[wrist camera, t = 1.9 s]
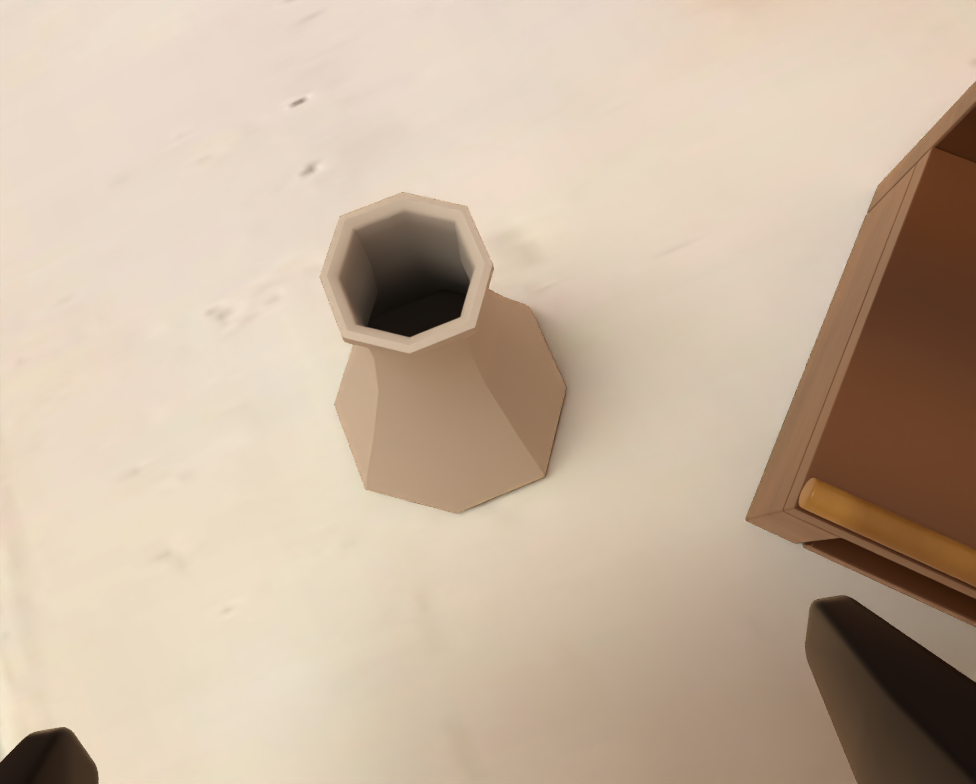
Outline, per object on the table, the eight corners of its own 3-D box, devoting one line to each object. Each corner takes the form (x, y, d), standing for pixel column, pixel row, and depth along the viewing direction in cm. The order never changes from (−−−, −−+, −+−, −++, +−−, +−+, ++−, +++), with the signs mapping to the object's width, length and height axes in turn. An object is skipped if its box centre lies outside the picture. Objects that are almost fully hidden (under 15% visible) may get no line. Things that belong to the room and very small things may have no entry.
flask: (338, 522, 22) (204, 481, 13) (334, 299, 24) (214, 112, 14) (576, 505, 22) (626, 450, 13) (555, 282, 24) (584, 82, 14)
